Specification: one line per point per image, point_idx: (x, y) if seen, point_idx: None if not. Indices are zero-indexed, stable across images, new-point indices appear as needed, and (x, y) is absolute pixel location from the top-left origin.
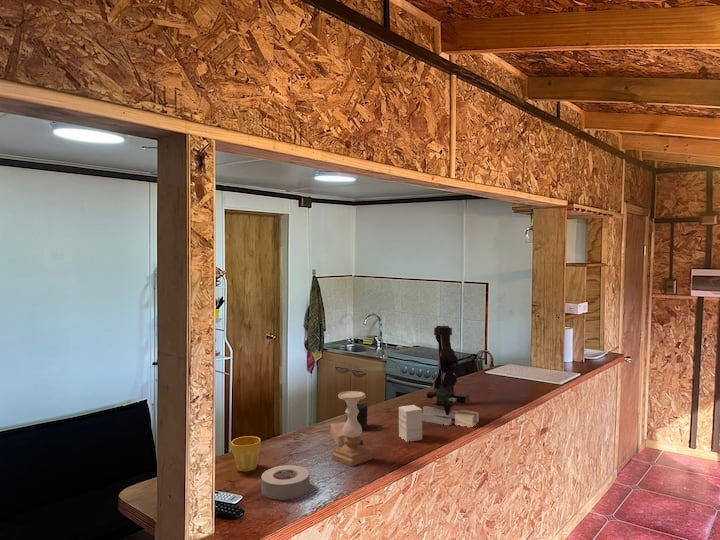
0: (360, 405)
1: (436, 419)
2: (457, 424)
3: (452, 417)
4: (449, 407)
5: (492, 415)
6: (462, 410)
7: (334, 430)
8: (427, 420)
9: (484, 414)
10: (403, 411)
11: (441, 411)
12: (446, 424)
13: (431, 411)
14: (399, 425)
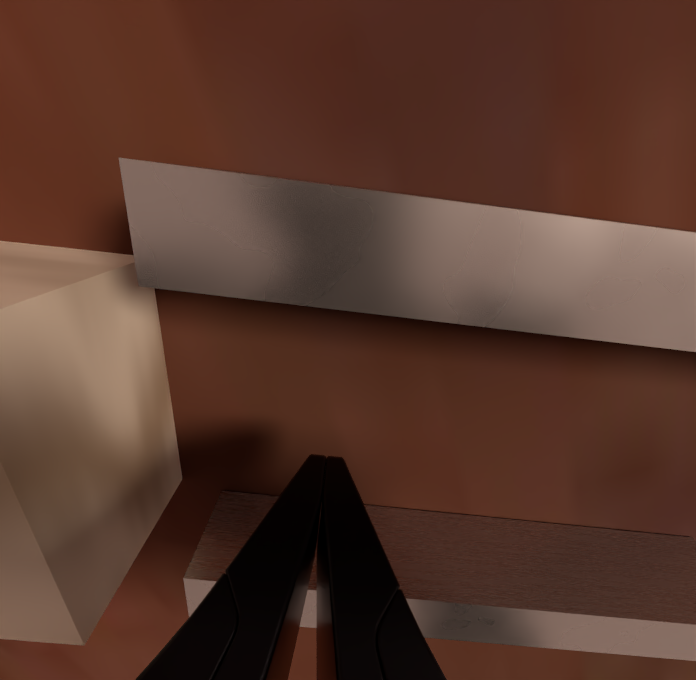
0: None
1: (491, 205)
2: (92, 255)
3: None
4: (195, 627)
5: (26, 653)
6: (31, 616)
7: None
8: (661, 227)
9: (95, 655)
10: None
11: (469, 580)
12: (261, 175)
13: (609, 569)
14: None
